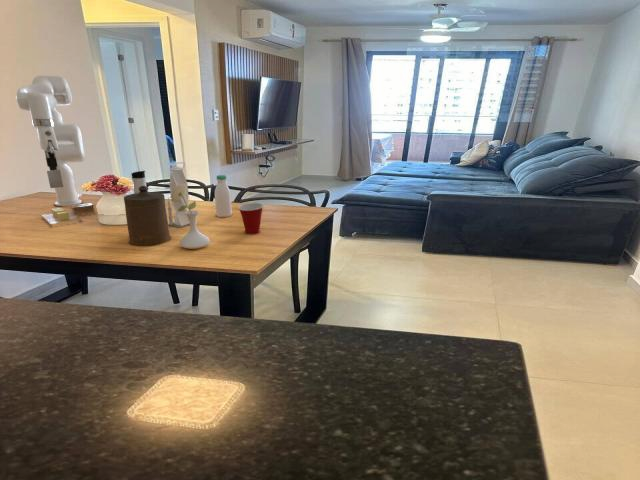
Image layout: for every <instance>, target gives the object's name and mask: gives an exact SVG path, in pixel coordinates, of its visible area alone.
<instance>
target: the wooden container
mask: <svg viewBox="0 0 640 480" xmlns="http://www.w3.org/2000/svg"><path fill="white" fill-rule="evenodd" d="M146 186H147V185H146ZM146 186H141V187H139V191H140V192H139V193H135V194H134V193H130V194H127V195H125V196H123V202H124V209H125V210H124V211H125V219H126V225H127V226H126V227H127V232H128V238H129V243H130V244H132V245H135V246H141V247H142V246H143V247H145V246H153V245H160V244H162V243H165V242H167V241H169V240H170V239H171V237H170V229H169V225H168V224H169V219H168V215H167V209H166V207H167V206H166V197H165V194H164V193H162V192H155V191H153V192H152V191H149V187H148V186H147V187H146Z"/></svg>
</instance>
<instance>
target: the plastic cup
mask: <svg viewBox="0 0 640 480" xmlns="http://www.w3.org/2000/svg"><path fill="white" fill-rule="evenodd" d="M263 208H264V204H263V203H260V202H251V203H244V204H241V205H239V206H237V209H238V210H239V212H240V215H241V218H242V224H243V227H244V231H245V234H249V235H255V234H258V233H260V229H261V223H262V222H261V221H262V213H263Z"/></svg>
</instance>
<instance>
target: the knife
mask: <svg viewBox="0 0 640 480" xmlns="http://www.w3.org/2000/svg"><path fill="white" fill-rule="evenodd" d="M46 155H47V154H46ZM47 158H48V157H47ZM48 168H49V169H47V170H46V174H47V178H48V183H49V188H50V189H55V188H58V187H64V186H63V182H62V177H61V172H60V169H57V168H56V167H48Z"/></svg>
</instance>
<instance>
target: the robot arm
mask: <svg viewBox="0 0 640 480" xmlns="http://www.w3.org/2000/svg"><path fill="white" fill-rule="evenodd" d="M15 101H16V104H17V106H18V108H19V109H20V110H22V111H24V112H25V111H26V112H29V113H30V118H31V121H32V126H33V128H36V131H37V136H38V142H39V145H40V148H41V150H43V151H44V155H45V161H46V166H47V167H48V168H49V167H56V168H57V169H60V172H61V177H62V182H63V186H64V187H58V188H54V191H55V196H56V201H55V202H54V206H56V207H68V206H74V205H81V204H83V201H82V199H80V197H82V196H83V195H82V193H81V192H79V193H77V187H76V181H75V177H74V172H73V170H72V168H71V167H70V166H68V164H67V163H82V162H84V161H85V160H86V152H85V147H84V142H83V137H82V132H81V129H80V127H79V126H78V125H77V124H75V123H64V122H63V116H62V114H61V113H60V112H59V111H58V110H57V107H58V106H70V105H72V104H73V94H72V91H71V89H70V85H69V83H68V81H67V80H66V79H65V78H64V77H63V76H58V75H37V76H35V77H34V78H33V79H32V83H31V84H29V85H24V86H22V87H19V88H18V89H17V91H16V95H15ZM46 154H47V155H46ZM47 157H48V158H47Z"/></svg>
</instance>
